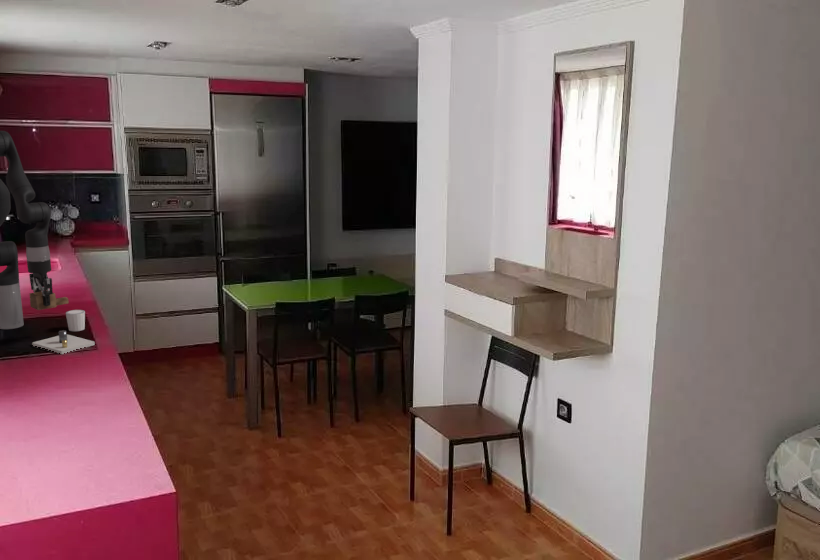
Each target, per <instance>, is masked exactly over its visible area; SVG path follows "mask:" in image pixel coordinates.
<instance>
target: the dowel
mask: <svg viewBox="0 0 820 560" xmlns="http://www.w3.org/2000/svg"><path fill="white" fill-rule="evenodd" d="M62 348H67V340H62Z"/></svg>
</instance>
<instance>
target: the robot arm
mask: <svg viewBox="0 0 820 560" xmlns="http://www.w3.org/2000/svg"><path fill="white" fill-rule="evenodd" d="M2 157H5V158H6V160H7V161H8V169H7V172H6V176H5V182H6V184H5V182H4V181H3V180H2V179H1V178H0V227H1V226H2V225H3V224H4V222H5V220H6V219H7V218H8V216H9V214H10V211H11V208H12V207H11V206H12V205H11V195H12V197H13V200H14V205H15V210H16V216H17V218H18V220H19V221H20V222H21V223H23V224H27V225H28V224H35V226H34V227H33V228H32V229H28V230H27V231H25V233H24V234H25V235H24V237H25V246H26V247H25V248H26V249H25V253H26V254H25V255H26V264H27V271H28V273H29V275H28V276H29V283H30V288H31V291H33V292H32V293H35V292H42V295H43V305H44V306H50V295H51V294H53V293H54V292H53V279H52V278H51V277H49V276H48V274H47V273H50V272H51V271H52V263H51V252H50V247H49V238H48V237H49V236H48V232H49V227H50V222H51V217H52V212H51V208H50V206H49V205H48V204H47V203H46V202H43V201H42V202H41V201H39V202H31V201H33V200H34V199H35V198H36V191H35V190H34V188H33V186H32V184H31V182H30V180H29V179H28V177H27V174H26V173H25V170H24V168H23V165H22V162H21V158H20V155H19V153H18V150H17V147H16V145H15V142H14V140H13V138H12V136H11V134H10V133H9V132H8V131H5V130H0V158H2ZM18 251H19V250H18V248H17V245H16V243H15V241H12V240H8V241H0V267H6V268H4V270H3V271H1V272H0V330H13V329H18V328H22V327H23V326H24V315H23V314H24V313H23V305H22V304H23V303H22V295H21V294H22V293H21V285H20V272H19V271H20V269H19V252H18Z"/></svg>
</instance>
